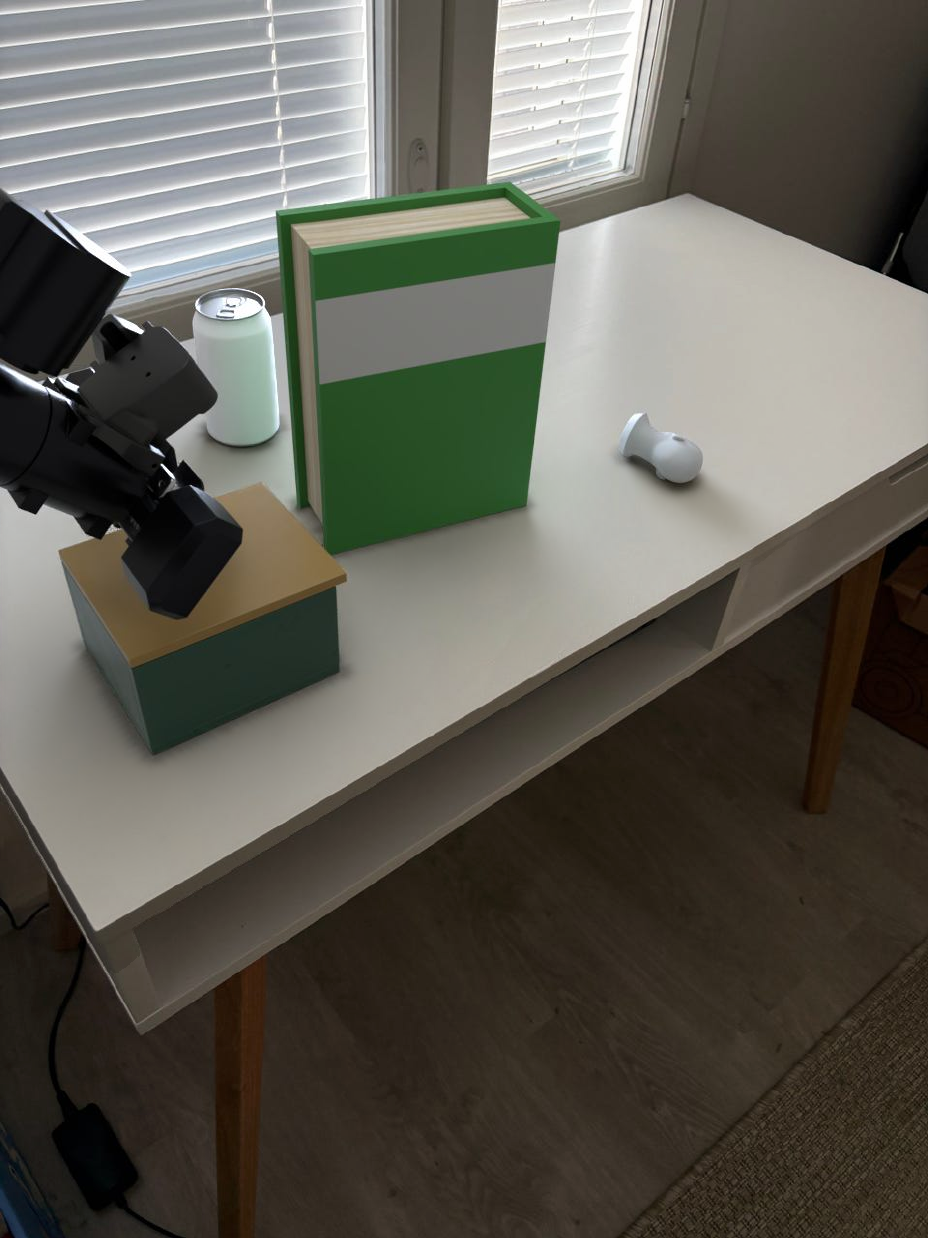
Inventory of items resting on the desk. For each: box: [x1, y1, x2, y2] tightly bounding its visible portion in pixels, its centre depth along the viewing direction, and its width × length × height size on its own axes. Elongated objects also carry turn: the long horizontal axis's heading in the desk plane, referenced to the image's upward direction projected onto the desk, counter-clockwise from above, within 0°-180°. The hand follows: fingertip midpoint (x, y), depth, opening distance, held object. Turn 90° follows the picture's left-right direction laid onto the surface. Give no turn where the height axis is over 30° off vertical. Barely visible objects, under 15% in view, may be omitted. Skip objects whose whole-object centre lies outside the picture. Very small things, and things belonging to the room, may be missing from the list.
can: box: [192, 288, 280, 448], centre depth 87 cm, size 6×6×12 cm
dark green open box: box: [60, 560, 341, 756], centre depth 67 cm, size 14×12×8 cm
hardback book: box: [275, 181, 561, 556], centre depth 76 cm, size 18×7×24 cm, turn 116°
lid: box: [58, 481, 348, 668], centre depth 64 cm, size 14×12×1 cm
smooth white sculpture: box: [618, 412, 704, 484], centre depth 89 cm, size 4×8×5 cm
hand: (234, 532), depth 64 cm, fingers closed
